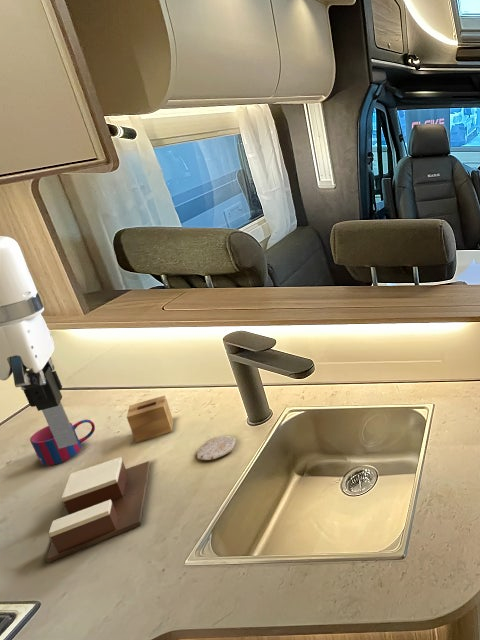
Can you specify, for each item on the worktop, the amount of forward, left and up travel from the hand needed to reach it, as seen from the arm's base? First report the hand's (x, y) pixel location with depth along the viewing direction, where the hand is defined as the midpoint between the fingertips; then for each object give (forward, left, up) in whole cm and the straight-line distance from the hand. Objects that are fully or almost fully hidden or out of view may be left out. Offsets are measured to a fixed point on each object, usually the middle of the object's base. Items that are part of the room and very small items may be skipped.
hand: (47, 396), depth 76 cm
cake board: (+2, -1, -28) cm, 28 cm away
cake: (+1, +2, -27) cm, 27 cm away
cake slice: (+1, -8, -27) cm, 28 cm away
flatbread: (+21, +4, -28) cm, 35 cm away
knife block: (+8, +20, -28) cm, 35 cm away
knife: (0, 0, -12) cm, 12 cm away
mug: (-8, +23, -28) cm, 37 cm away
